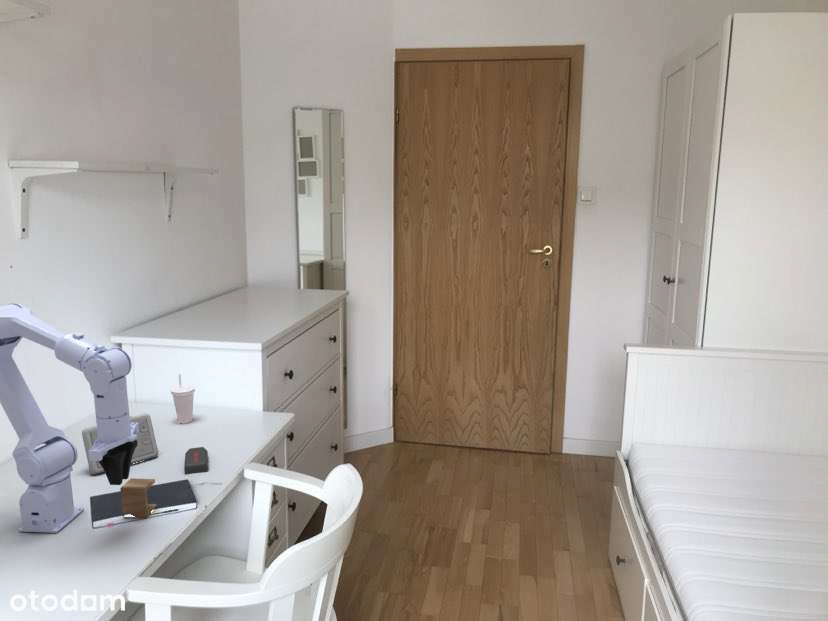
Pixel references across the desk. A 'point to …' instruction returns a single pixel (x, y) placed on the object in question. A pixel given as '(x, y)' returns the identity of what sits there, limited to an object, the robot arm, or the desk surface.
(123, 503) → the open wooden box
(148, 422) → the digital clock
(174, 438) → the desk surface
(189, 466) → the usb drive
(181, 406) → the smoothie
